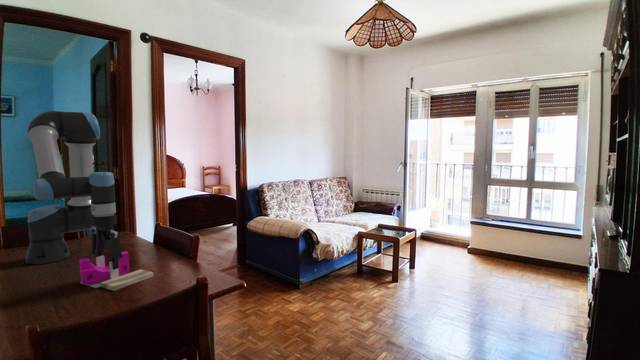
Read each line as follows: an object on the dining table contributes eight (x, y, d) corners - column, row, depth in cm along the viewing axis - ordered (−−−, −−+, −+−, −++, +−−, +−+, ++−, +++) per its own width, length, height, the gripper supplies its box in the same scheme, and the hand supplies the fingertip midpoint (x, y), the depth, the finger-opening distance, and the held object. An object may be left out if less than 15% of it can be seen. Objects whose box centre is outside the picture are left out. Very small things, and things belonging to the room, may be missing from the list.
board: (100, 286, 119) (100, 282, 118) (140, 272, 132) (140, 269, 132) (113, 290, 115) (113, 286, 115) (153, 276, 128) (153, 272, 128)
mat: (79, 282, 122) (79, 282, 122) (115, 271, 134) (115, 270, 134) (95, 288, 118) (95, 287, 117) (131, 275, 129) (131, 274, 129)
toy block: (83, 284, 118) (81, 263, 117) (80, 279, 122) (79, 259, 122) (131, 274, 127) (130, 254, 127) (127, 269, 132) (126, 251, 131)
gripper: (77, 213, 124) (81, 273, 127) (110, 219, 115) (114, 284, 117) (98, 210, 131) (102, 267, 133) (131, 215, 121) (134, 276, 124)
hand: (107, 275), depth 125 cm, fingers closed on toy block, 8 cm apart
